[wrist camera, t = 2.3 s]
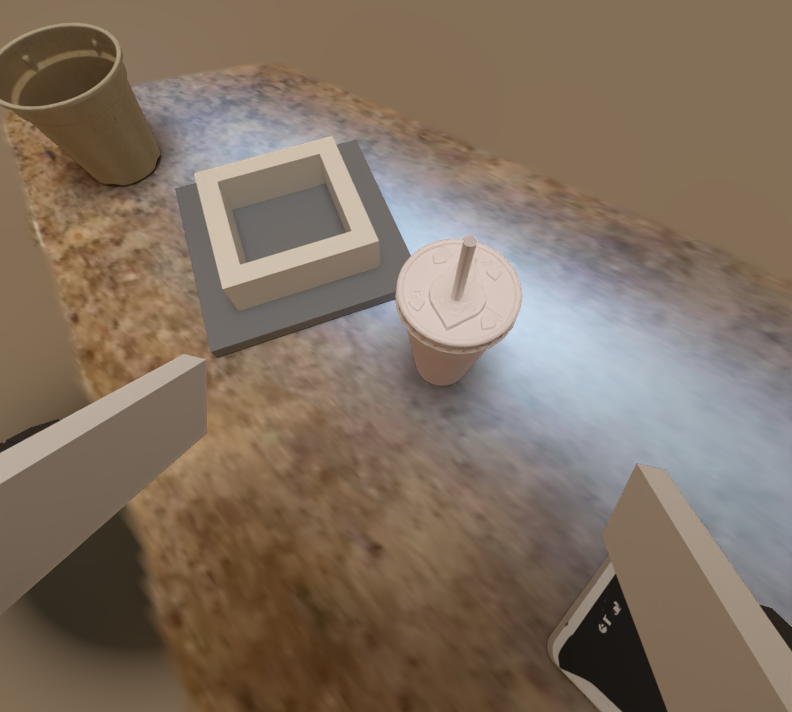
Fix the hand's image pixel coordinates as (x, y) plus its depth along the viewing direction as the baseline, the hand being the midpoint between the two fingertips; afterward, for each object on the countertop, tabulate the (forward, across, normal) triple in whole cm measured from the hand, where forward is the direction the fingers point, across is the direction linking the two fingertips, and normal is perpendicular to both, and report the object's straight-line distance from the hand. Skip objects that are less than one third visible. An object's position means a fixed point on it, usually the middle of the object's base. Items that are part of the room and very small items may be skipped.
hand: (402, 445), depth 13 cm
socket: (+22, -13, +2) cm, 26 cm away
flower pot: (+26, -31, +5) cm, 40 cm away
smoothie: (+17, +1, -4) cm, 18 cm away
